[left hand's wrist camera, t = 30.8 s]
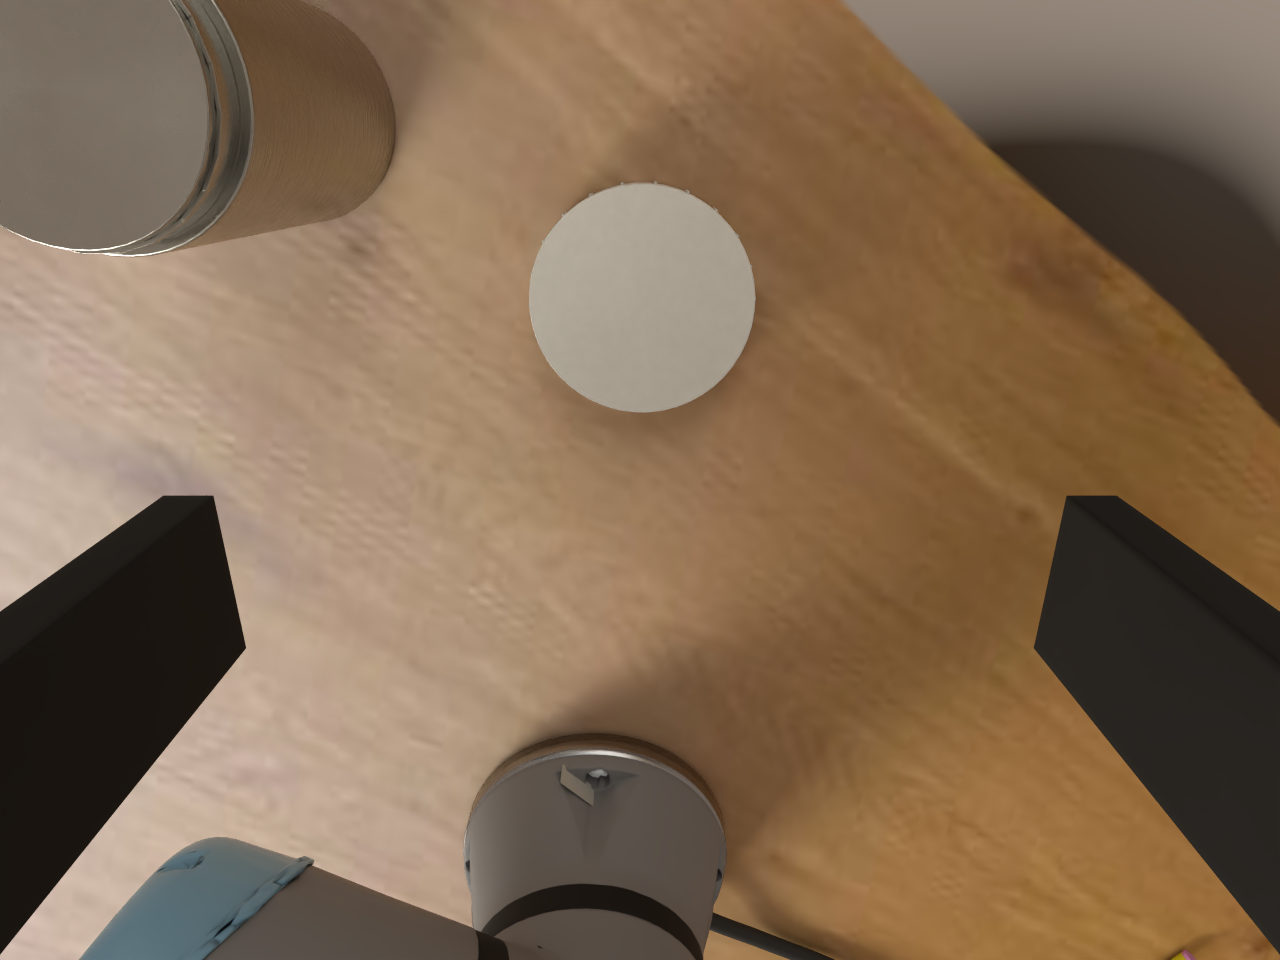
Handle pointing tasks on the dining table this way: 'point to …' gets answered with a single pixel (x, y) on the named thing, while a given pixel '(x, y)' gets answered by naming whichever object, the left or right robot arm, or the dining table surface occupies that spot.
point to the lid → (642, 297)
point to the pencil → (1184, 956)
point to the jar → (183, 121)
